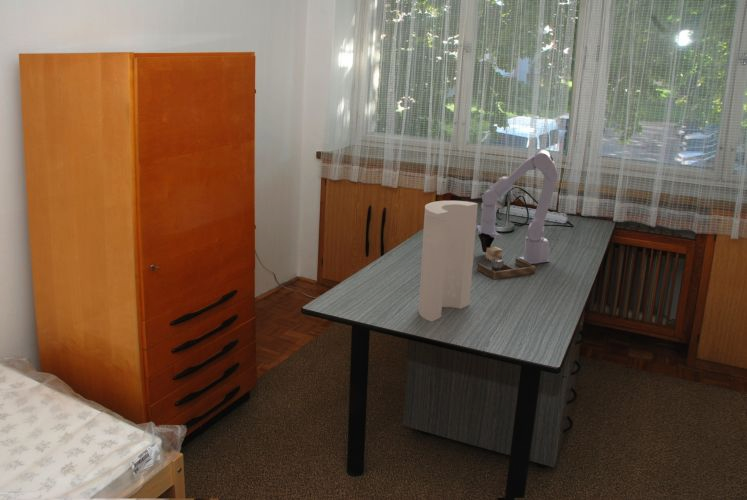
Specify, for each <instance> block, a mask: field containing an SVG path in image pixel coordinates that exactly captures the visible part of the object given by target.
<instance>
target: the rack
mask: <svg viewBox="0 0 747 500" xmlns="http://www.w3.org/2000/svg"><path fill="white" fill-rule="evenodd" d="M514 264H515V265H516V266H518V267H519V268H518V267H517V268H514V267H511V266H510V265H508V264H506V263H504V262H503V271H496V272H495V271H493V270H491V268H489V267H487V266H485V265H483V264H481V263H480V262H477V266H476V271H477V270H478V271H479V272H481V273H482V274H485V275H486V276H487V277H489V278H491V279H494V280H496V279H502V278H503V279H505V278H509V277H517V276H523V275H530V274H535V273H536V266H534V265H533V264H530V263H528V262H525V261H523V260H521V259H519V257H518V258H517V257H515V263H514Z"/></svg>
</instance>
